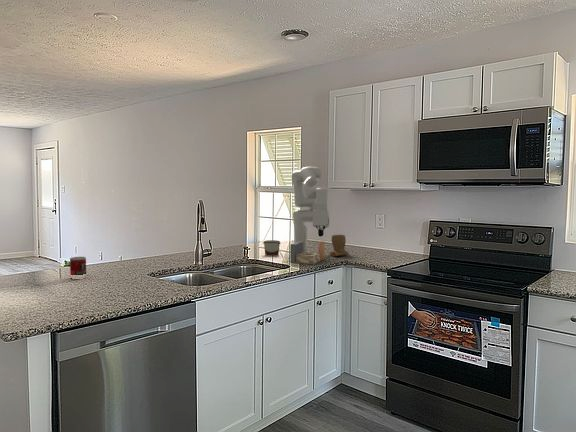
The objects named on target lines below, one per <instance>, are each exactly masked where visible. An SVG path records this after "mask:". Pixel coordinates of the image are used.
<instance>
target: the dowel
mask: <svg viewBox="0 0 576 432" xmlns="http://www.w3.org/2000/svg"><path fill="white" fill-rule="evenodd" d="M317 243H318V250H317V251H318V252H317V253H319V254H320V261H324V260H325V241H318V242H317Z"/></svg>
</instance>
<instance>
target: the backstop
mask: <svg viewBox="0 0 576 432" xmlns="http://www.w3.org/2000/svg"><path fill="white" fill-rule="evenodd" d="M289 247H290V248H289V249H290V250H289V251H290V252H289V253H290V255H289V256H290V257H289V260H290V264H291V263H292V264H296V255H297V254H300V253H302V252H303V242H296V243H294V242H292V243H290V245H289Z"/></svg>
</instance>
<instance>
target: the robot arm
mask: <svg viewBox="0 0 576 432" xmlns="http://www.w3.org/2000/svg"><path fill="white" fill-rule="evenodd" d="M322 175H323V172H322V169H321V168H320V167H318V166H305V167H302V168H301V170H294V171H293V172H292V173H291V183H292V185H293V191H294V192H293V193H294V194H293V195H294V206H295V207H296V208H300V209H295V210H294V211H292V212H293V213H292V218H293V219H292V220H293V243H296V242H303V252H306V253H310V250H308V248H309V246H308V227H307V226H306V225H305V223H312V227H314V228H316V229H317V232H318V233H317V234H318V237H323V236H324V230H325V229H327V228H329V227H330V215H329V214H330V213H329V209H328V189H327V188H326V187H315V186H316V185H317V184H318V180H320V179H321V178H322ZM301 208H303V209H301ZM306 208H309V209H306Z"/></svg>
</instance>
